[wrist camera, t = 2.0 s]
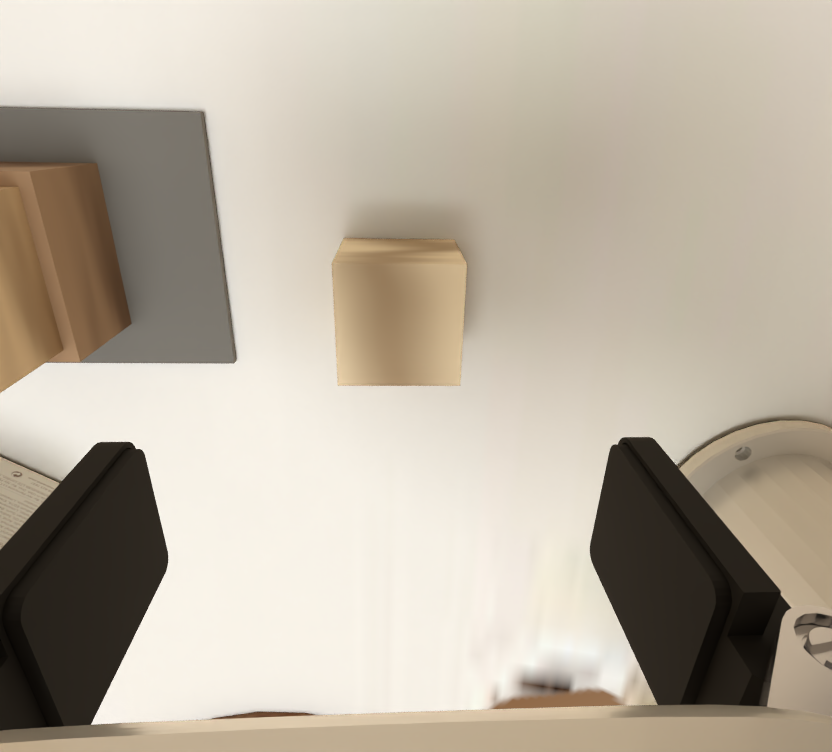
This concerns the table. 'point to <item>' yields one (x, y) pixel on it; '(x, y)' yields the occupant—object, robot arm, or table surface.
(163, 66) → the table surface
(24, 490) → the small box
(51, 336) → the oak block
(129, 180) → the slate mat
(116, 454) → the robot arm
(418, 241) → the maple cube
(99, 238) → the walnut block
